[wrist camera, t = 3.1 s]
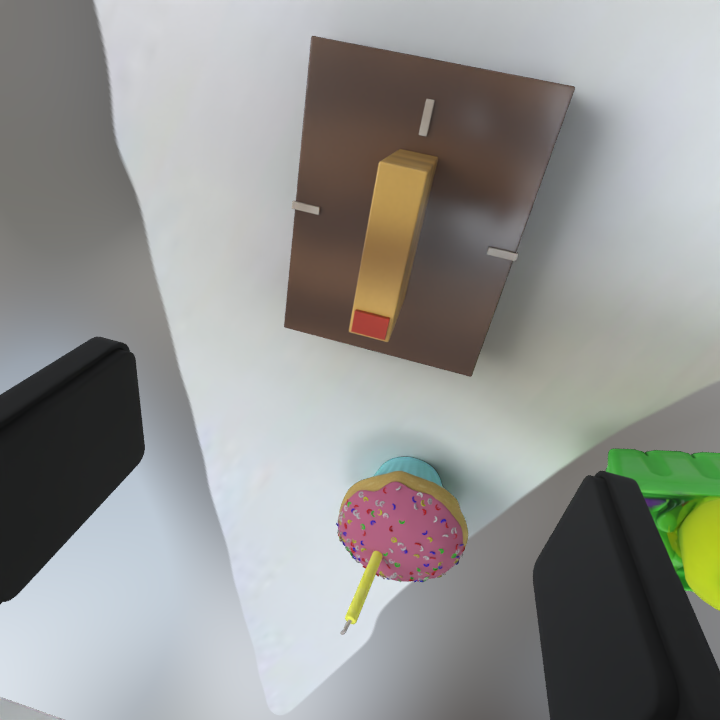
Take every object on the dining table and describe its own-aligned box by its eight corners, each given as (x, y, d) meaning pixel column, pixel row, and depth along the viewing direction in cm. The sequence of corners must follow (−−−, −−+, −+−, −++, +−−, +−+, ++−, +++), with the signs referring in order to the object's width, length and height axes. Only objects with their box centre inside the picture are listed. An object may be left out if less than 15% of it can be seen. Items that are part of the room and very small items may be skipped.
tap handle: (399, 148, 20) (377, 161, 16) (438, 157, 20) (427, 173, 16) (371, 291, 24) (346, 335, 20) (404, 299, 24) (387, 345, 19)
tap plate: (328, 42, 22) (307, 34, 19) (566, 88, 21) (579, 87, 18) (299, 307, 29) (281, 328, 26) (473, 352, 28) (473, 379, 25)
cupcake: (358, 513, 37) (312, 670, 27) (348, 429, 33) (290, 576, 23) (467, 526, 35) (462, 701, 25) (471, 438, 31) (467, 604, 21)
